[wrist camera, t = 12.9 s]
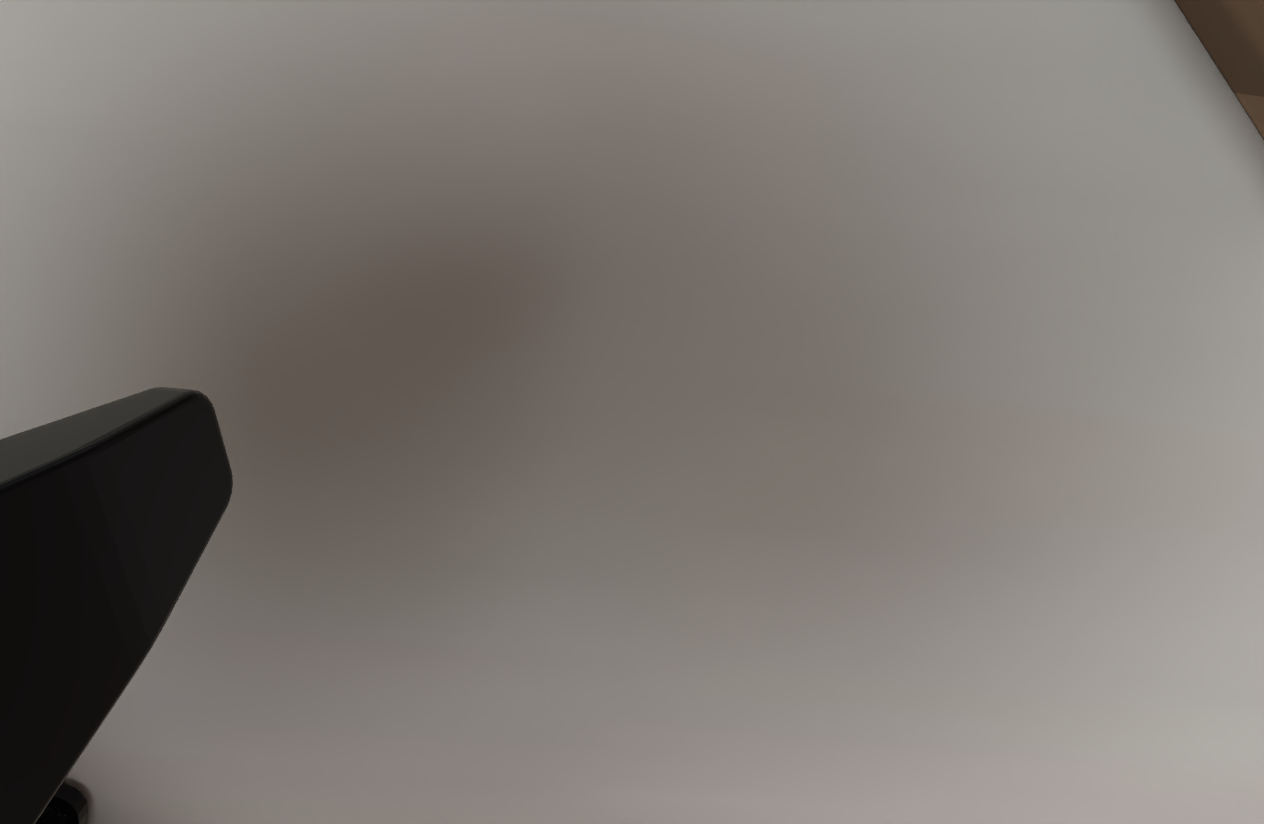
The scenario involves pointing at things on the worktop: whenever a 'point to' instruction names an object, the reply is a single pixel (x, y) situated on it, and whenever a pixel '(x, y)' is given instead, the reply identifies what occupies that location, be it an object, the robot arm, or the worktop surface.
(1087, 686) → the worktop surface
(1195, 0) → the wooden square hole board
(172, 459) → the robot arm
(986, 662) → the worktop surface
